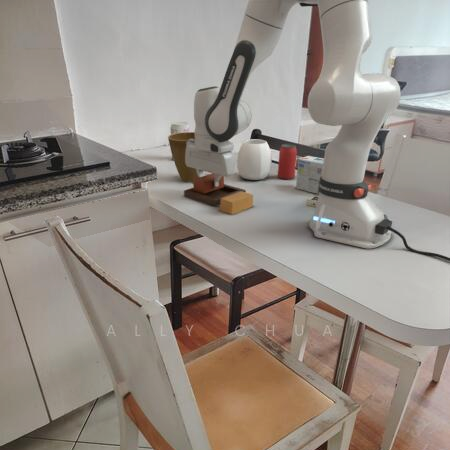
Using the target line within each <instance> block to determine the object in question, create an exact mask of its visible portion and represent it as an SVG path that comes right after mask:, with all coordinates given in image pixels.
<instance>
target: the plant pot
mask: <svg viewBox="0 0 450 450" xmlns="http://www.w3.org/2000/svg"><path fill="white" fill-rule="evenodd" d="M167 139H168V143H169V148H170V152H171V157H172V156H173V158H172V160H173V162H174V166H175V168H176V170H177V173H178V175H179V178H180V180H181V181H182V182H185V183H193V179H195V178H198V174H197V172H196V169H195V168H191V167H188V166H187V165H186V163H185V152H186V147H187V145H186V143H187V141H188V140H189V139H194V140H195V131H190V132H184V133H176V134H172V135H171V134H170V135H168V136H167Z"/></svg>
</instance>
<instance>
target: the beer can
mask: <svg viewBox="0 0 450 450" xmlns="http://www.w3.org/2000/svg"><path fill="white" fill-rule="evenodd" d="M297 155H298V150H297V145H296V144H292V143H284V144H281V145H280V149H279V153H278V166H277V167H278V169H277V177H278V178H279V179H281V180H292V179H294V178H295V177H296V168H297V167H296V166H297Z"/></svg>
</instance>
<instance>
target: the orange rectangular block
mask: <svg viewBox="0 0 450 450" xmlns="http://www.w3.org/2000/svg"><path fill="white" fill-rule="evenodd" d="M220 204H221V205H220V212H222V213H225V214H229V215H235V214H237V213H240V212H243V211H245V210H247V209H250V208H253V206H254V194H252V193H249V192H242V191H241V192H238V193H235V194H232V195H229V196H226V197H223V198H221V199H220Z"/></svg>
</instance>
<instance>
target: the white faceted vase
mask: <svg viewBox="0 0 450 450" xmlns="http://www.w3.org/2000/svg"><path fill="white" fill-rule="evenodd" d="M272 157H273V155H272V151H271V148H270V145H269V144H268V142H267V140H264V139H258V138H257V139H256V138H255V139H252V138H251V139H245V140H244V141H243V142H242V144H241V146H240V148H239V150H238V154H237V158H236V159H237V160H236V169H237V171H238V174H239V175H240V176H241V177H242V179H245V180H249V181H260V180H264V179H265V178H267V177H268V176H269V174H270V172H271V170H272V162H273V161H272V160H273V159H272Z"/></svg>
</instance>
